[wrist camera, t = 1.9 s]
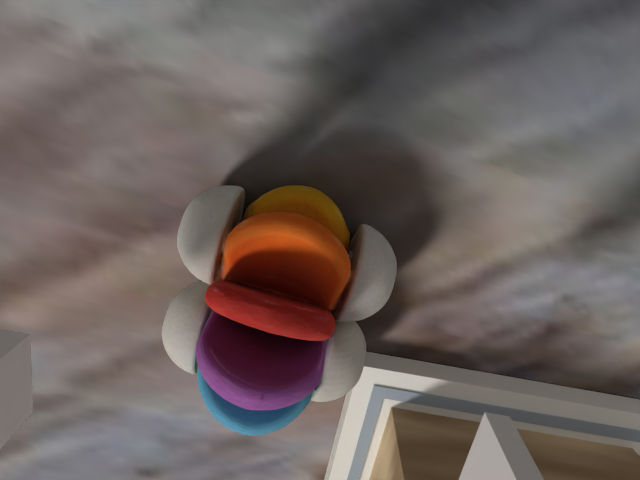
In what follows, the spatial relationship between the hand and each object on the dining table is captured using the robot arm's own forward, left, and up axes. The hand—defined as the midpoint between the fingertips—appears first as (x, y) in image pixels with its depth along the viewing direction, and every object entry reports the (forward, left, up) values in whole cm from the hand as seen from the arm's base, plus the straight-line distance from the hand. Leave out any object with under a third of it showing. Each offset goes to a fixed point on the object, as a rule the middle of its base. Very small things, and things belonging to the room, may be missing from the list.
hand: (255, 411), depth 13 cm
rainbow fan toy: (0, 0, -8) cm, 8 cm away
